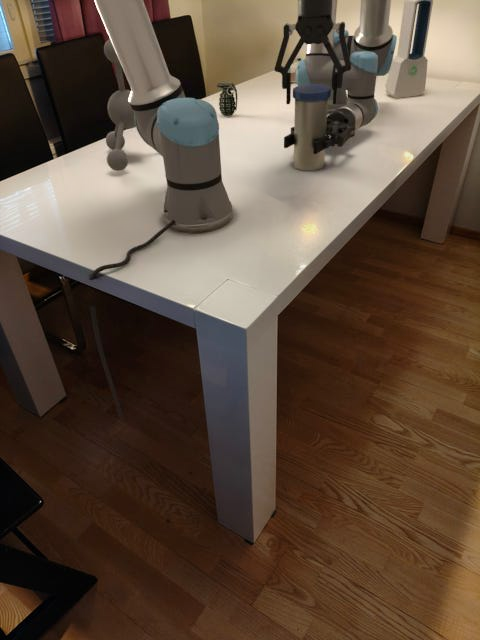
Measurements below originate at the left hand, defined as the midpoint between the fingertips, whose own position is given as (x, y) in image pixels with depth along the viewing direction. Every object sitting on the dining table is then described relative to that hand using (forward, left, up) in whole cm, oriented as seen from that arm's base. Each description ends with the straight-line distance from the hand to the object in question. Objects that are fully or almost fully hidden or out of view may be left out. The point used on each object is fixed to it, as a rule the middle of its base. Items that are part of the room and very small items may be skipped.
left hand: (311, 102), depth 120 cm
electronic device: (+78, -6, -16) cm, 80 cm away
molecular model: (-11, +47, -16) cm, 51 cm away
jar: (0, 0, -16) cm, 16 cm away
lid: (0, 0, +3) cm, 3 cm away
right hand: (-5, +1, -9) cm, 10 cm away
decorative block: (+93, +37, -16) cm, 101 cm away
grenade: (+34, +43, -16) cm, 57 cm away
